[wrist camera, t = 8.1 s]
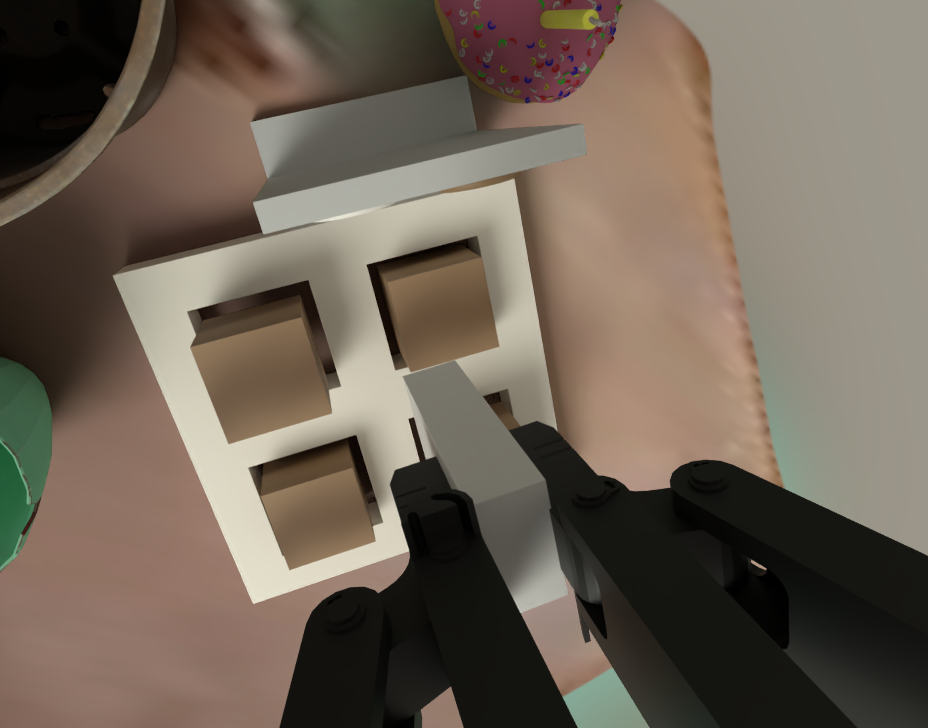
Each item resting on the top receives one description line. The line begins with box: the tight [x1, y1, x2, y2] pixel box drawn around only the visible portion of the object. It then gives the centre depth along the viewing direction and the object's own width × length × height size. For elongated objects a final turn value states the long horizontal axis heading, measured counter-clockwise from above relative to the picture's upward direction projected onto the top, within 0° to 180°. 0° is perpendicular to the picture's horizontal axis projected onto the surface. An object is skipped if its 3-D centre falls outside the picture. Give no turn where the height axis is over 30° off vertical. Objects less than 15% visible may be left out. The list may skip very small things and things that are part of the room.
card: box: [250, 75, 587, 234], centre depth 26 cm, size 4×11×14 cm, turn 102°
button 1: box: [261, 437, 376, 570], centre depth 36 cm, size 5×5×4 cm
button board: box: [113, 179, 558, 604], centre depth 36 cm, size 20×20×2 cm
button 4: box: [376, 244, 499, 372], centre depth 34 cm, size 5×5×4 cm
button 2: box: [190, 295, 332, 444], centre depth 30 cm, size 5×5×4 cm
